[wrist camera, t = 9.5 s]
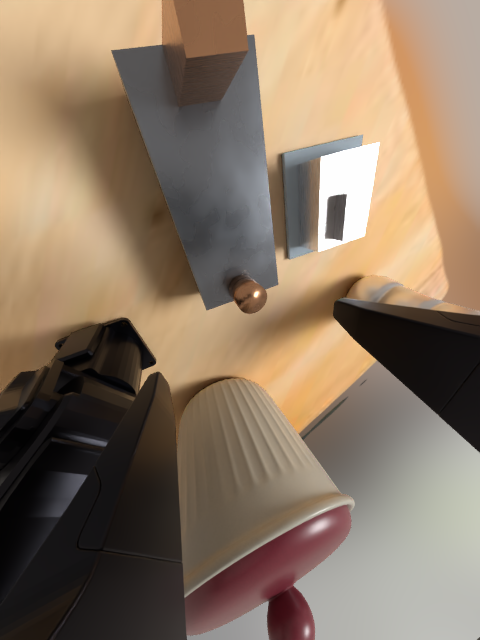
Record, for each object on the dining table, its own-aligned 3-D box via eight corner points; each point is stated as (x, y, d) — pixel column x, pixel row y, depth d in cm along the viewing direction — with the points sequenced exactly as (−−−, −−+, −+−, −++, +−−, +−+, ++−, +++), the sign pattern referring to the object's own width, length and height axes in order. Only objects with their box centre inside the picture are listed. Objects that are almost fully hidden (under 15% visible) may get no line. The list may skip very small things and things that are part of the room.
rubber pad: (347, 238, 22) (349, 239, 22) (287, 258, 21) (289, 259, 21) (359, 135, 17) (362, 134, 17) (281, 153, 16) (284, 153, 15)
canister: (160, 448, 30) (155, 757, 13) (164, 362, 22) (168, 857, 5) (258, 426, 37) (336, 610, 20) (288, 355, 29) (458, 559, 12)
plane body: (260, 275, 21) (304, 305, 14) (200, 295, 20) (218, 339, 13) (231, 78, 13) (301, -55, 6) (125, 94, 12) (77, -49, 5)
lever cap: (341, 232, 21) (375, 237, 18) (299, 246, 20) (327, 254, 17) (349, 151, 17) (394, 137, 14) (297, 164, 16) (333, 153, 13)
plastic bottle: (338, 320, 29) (554, 460, 13) (338, 282, 25) (647, 416, 9) (372, 302, 30) (618, 415, 14) (377, 262, 26) (731, 356, 10)
